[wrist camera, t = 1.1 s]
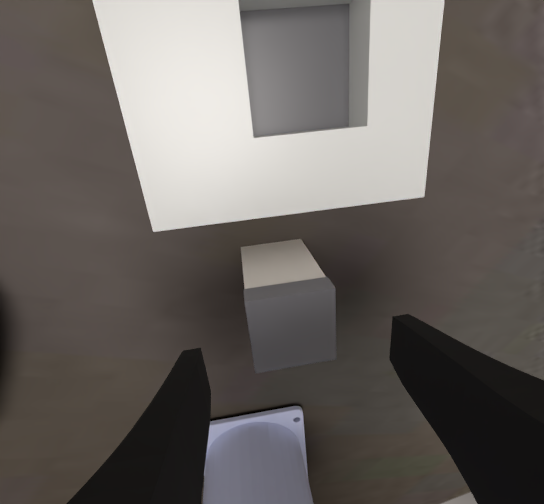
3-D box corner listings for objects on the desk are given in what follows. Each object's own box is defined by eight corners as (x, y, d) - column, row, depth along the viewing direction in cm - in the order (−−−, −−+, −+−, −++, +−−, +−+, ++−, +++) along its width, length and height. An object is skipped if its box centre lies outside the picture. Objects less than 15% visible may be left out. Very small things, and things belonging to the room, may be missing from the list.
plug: (304, 291, 19) (336, 359, 13) (247, 300, 18) (255, 373, 13) (301, 237, 17) (335, 287, 12) (239, 246, 17) (244, 301, 12)
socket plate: (398, 188, 17) (431, 199, 14) (163, 217, 16) (149, 236, 13) (423, -178, 11) (485, -275, 9) (69, -172, 10) (11, -280, 8)
